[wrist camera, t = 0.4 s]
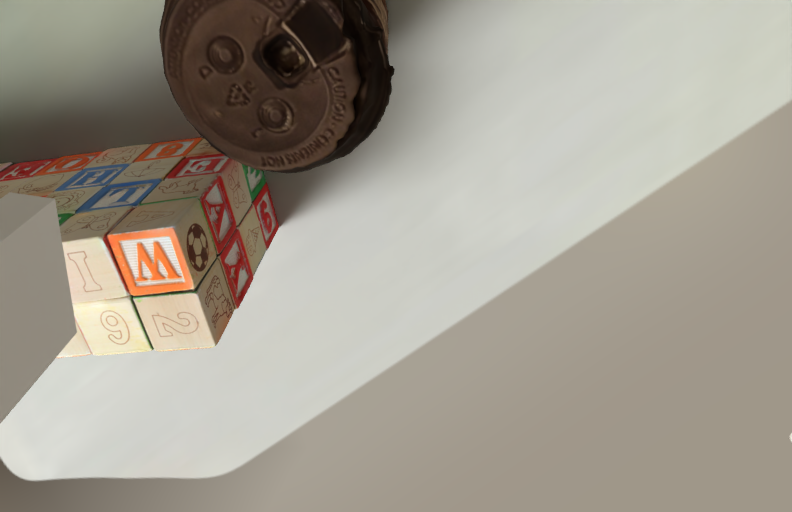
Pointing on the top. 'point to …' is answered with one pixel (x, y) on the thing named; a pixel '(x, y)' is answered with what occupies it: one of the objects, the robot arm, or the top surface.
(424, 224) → the top surface
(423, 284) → the top surface
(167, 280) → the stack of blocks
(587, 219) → the top surface
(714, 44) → the top surface
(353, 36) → the coffee cup
